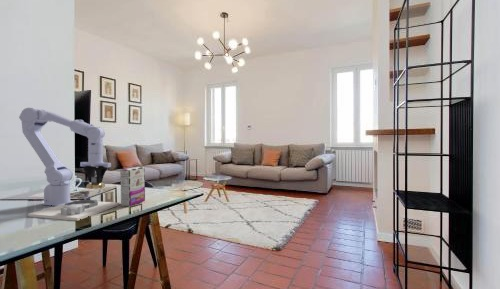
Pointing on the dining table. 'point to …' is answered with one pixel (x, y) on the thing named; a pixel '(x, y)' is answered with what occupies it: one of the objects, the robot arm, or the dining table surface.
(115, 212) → the dining table surface
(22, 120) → the robot arm
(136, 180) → the candy bar box
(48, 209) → the carrier plate
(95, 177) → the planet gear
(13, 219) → the dining table surface
